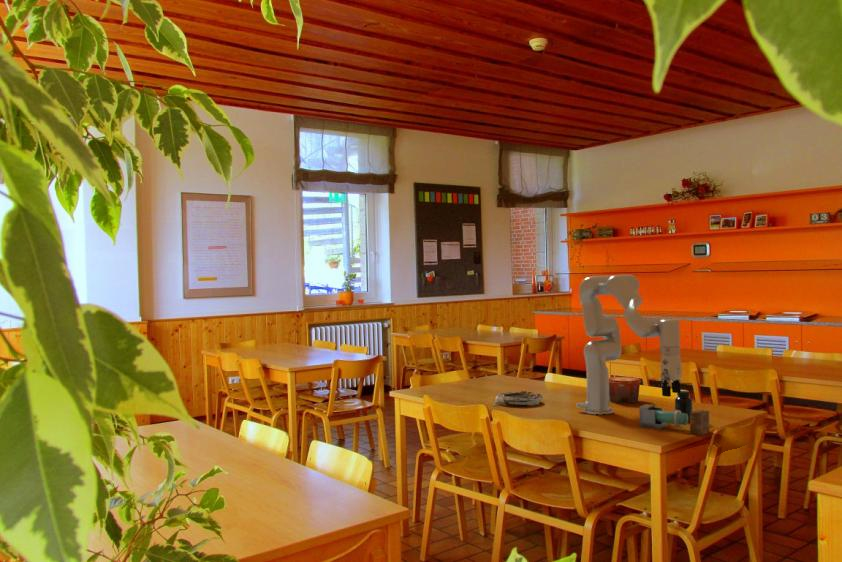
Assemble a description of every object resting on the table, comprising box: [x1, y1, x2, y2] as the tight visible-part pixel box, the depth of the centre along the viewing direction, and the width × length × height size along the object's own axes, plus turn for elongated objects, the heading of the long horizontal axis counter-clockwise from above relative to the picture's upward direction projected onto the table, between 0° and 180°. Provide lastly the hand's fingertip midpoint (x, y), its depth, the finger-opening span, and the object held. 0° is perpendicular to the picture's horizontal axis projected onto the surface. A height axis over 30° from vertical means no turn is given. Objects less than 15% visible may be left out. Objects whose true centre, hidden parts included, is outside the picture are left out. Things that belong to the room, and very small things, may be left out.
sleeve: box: [638, 403, 668, 430], centre depth 284 cm, size 8×7×8 cm
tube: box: [649, 409, 689, 428], centre depth 281 cm, size 16×6×6 cm, turn 49°
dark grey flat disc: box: [492, 390, 544, 407], centre depth 339 cm, size 28×27×5 cm
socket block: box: [689, 409, 710, 436], centre depth 272 cm, size 4×8×8 cm, turn 139°
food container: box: [609, 376, 642, 404], centre depth 338 cm, size 16×16×11 cm
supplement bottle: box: [674, 390, 694, 422], centre depth 295 cm, size 7×7×12 cm
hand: (671, 394), depth 279 cm, fingers open, 9 cm apart
